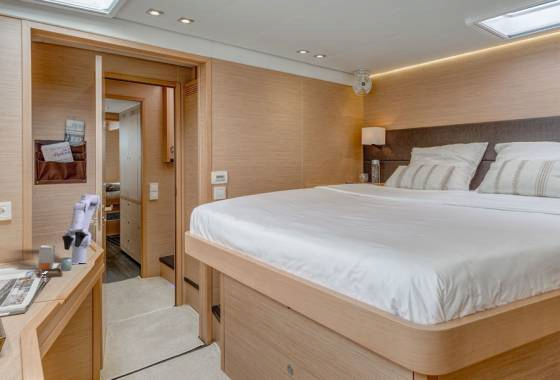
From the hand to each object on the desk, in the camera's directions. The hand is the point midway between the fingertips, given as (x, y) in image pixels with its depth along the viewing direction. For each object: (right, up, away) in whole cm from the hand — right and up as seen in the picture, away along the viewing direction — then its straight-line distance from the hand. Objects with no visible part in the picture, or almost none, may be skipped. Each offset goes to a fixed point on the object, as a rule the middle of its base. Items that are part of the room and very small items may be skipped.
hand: (71, 248), depth 186 cm
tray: (-6, -12, -8) cm, 15 cm away
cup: (-4, -12, +2) cm, 13 cm away
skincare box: (-14, -11, 0) cm, 17 cm away
